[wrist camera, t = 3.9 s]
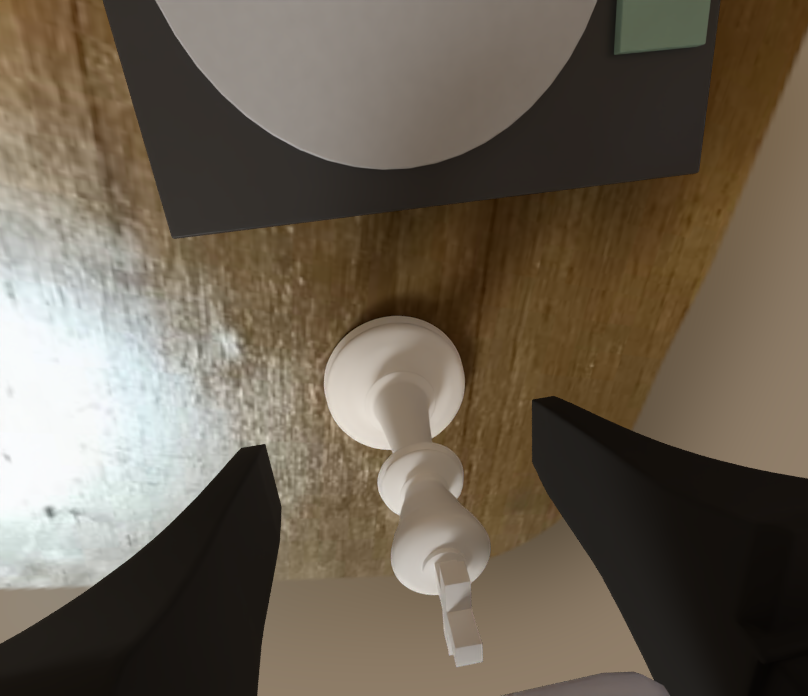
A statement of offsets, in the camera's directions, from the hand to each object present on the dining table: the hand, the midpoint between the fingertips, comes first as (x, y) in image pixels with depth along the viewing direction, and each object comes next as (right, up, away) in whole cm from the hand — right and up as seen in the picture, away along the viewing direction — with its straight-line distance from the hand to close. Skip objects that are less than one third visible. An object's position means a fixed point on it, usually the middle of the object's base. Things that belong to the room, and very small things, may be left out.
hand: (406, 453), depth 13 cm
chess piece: (0, +2, +4) cm, 5 cm away
